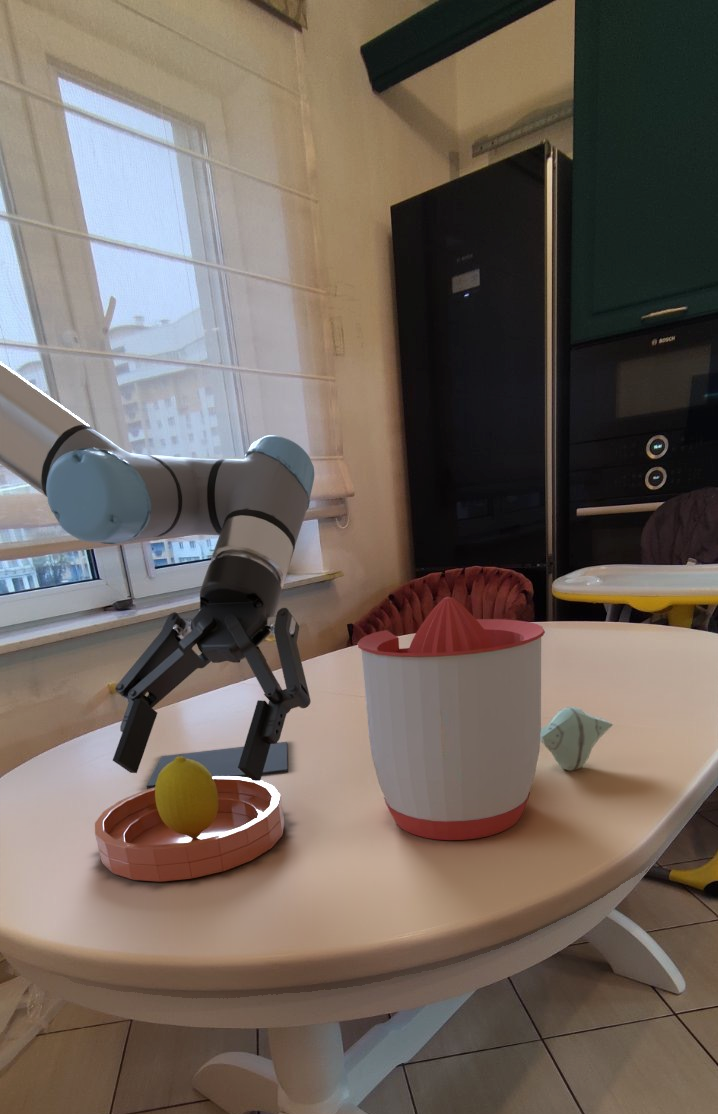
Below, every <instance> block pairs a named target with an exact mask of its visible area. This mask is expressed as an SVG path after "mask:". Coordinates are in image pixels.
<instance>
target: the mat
mask: <svg viewBox="0 0 718 1114" xmlns="http://www.w3.org/2000/svg"><path fill="white" fill-rule="evenodd" d="M243 749H244V746H238V747H231V748H229V747H228V748H221V749H213V750H212V749H211V750H203V751H196V752H195V751H194V752H187V753H180V754H177V753H176V754H170V755H161V757H160V759H159V761H158V763H157V765H156V766H155V769H154V771H153V773H152V775H151V777H150V778H149V781H148V783H147V784H146V790H147V789H150V788H154V787H155V786H156V780H157V778H158V775H159V773H160V772H161V770H162V769H163V768H164V767H165V766H166V765H167V764H169V763H170V762H172V761H174V759H175V758H176V757H178V756H183V757H184V758H185V759H190V760H194V761H196V762H198V763H200V764H202V765H203V766H204V767H205V768H206V769H207V770H208V771H209V772H210V774H211V776H212V777H215V776H225V777H244V778H249V777H248V776H247V775H246V774H245V773H243V772H242V771H241V770H240V769H239V768H238V766H239V762H240V759H241V756H242V752H243ZM288 759H289V758H288V741H282V742H277V743H276V744H271V745H270V748H269V752H268V755H267V759H266V762H265V766H264V770H263V773H262V776H264V775H265V776H266V775H267V776H268V775H274V774H281V773H282V774H283V773H288V772H289V769H288V768H289V767H288V765H289V764H288V763H289V762H288V761H289V760H288Z"/></svg>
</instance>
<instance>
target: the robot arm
mask: <svg viewBox="0 0 718 1114" xmlns="http://www.w3.org/2000/svg"><path fill="white" fill-rule="evenodd" d="M0 465H1V466H2V467H4V468H5V469H7V470H8V471H10V472H11V473H12V474H14V475H15V476H17V477H18V478H19V479H21V480H22V481H24V482H25V483H26V484H28V485H29V486H31V488H34V489H35V490H36V491H38V492H39V493H41V494H42V495H43V496H44V497H46V498H47V505H48V506H49V509H50V512H51V513H52V514H53V515H54V517H55V519H56V521H57V523H58V524H59V526H60V527H61V528H62V529H63V530H64V531H65V532H66V533H67V534H69V535H71V536H72V537H73V538H76V539H78V540H80V541H81V542H87V543H100V544H105V545H116V544H125V543H127V542H131V541H138V540H139V541H140V540H145V539H151V538H162V537H170V536H171V537H172V536H180V535H201V536H202V535H204V536H218V538H217V541H216V544H215V546H214V549H213V551H212V555H211V557H210V563H209V564H208V567H207V570H206V572H205V576H204V579H203V581H202V584H201V586H200V590H199V610H198V611H197V613H196V614H195V616H193V617H192V618H183V617H181V615H179V613H177V612H176V611H175V612H171V613H170V614H168V616H167V618H166V620H165V622H164V625H163V627H162V628H161V631H160V632H159V633H158V634H157V636H156V637H154V639H153V640H152V642H151V643H150V644H149V646H148V647H147V648H146V649H145V650H144V651H143V653H142V654H141V655H140V656H139V658H137V660H136V661H135V662H134V664H133V665H132V666H131V667H130V668H129V670H127V672H126V673H125V674H124V676H123V677H122V678H121V680H119V682H118V683H117V684H116V686H115V688H114V689H115V692H116V693H117V694H118V695H119V696H121V697H122V698H123V699H124V700H126V701H127V703H128V704H127V707H126V709H125V712H124V715H123V718H122V721H121V724H120V726H119V727H120V729H119V730H120V733H121V735H120V739H119V742H118V743H117V747H116V749H115V752H114V755H113V758H112V761H113V763H115V764H117V765H118V766H120V767H121V768H123V769H124V770H125V771H127V772H129V774H137V773H138V771H139V768H140V765H141V762H142V759H143V756H144V753H145V751H146V748H147V745H148V742H149V739H150V736H151V733H152V731H153V727H154V724H155V721H156V719H157V716H158V712H157V711H156V709H153V708H154V707H156V705H158V704H159V703H160V702H161V701H162V700H163V699H164V698H165V697H166V696H168V695H169V694H170V693H171V692H172V691H174V690H175V689H176V688H177V687H178V686H179V685H180V684H181V683H182V682H183V681H184V680H186V679H187V678H189V676H191V675H192V674H193V673H194V672H195V671H196V670H198V669H204V668H206V667H207V666H208V665H209V664H210V663H212V664H220V663H224V662H230V663H237V664H238V663H239V664H240V663H241V660H244V659H245V660H246V662H247V664H248V666H249V667H250V669H251V671H252V672H253V675H254V677H255V678H256V680H257V682H258V684H259V686H260V688H261V690H262V692H263V695H264V697H266V699H267V700H268V702H267V701H266V700H257V702H256V704H255V708H254V712H253V716H252V719H251V722H250V726H249V729H248V732H247V736H246V739H245V742H244V746H243V747H244V749H243V752H242V756H241V759H240V762H239V766H238V768H239V769H240V770H241V771H242V772H243V773H245V774H246V775H247V776H248V777H247V778H250V779H251V780H253V781H260V780H261V781H262V777H263V775H262V773H263V770H264V766H265V762H266V759H267V755H268V752H269V748H270V745H271V744H276V743H279V741H280V739H281V735H282V732H283V728H284V724H285V721H286V717H287V715H288V713H290V711H291V710H293V709H295V708H298V707H299V708H300V709H306V708H308V707H309V706H311V701H312V700H311V696H310V692H309V688H308V683H307V680H306V675H305V671H304V667H303V663H302V659H301V654H300V650H299V646H298V638H299V632H300V625H299V624H298V621H297V620H296V619H295V617H294V616H293V615H292V614H291V611H289V609H288V608H287V607H281V608H280V609H278V607H279V603H280V600H281V596H282V592H283V591H282V590H283V587H284V586H285V584H286V583H285V582H286V579H287V576H288V574H289V573H288V572H289V569H290V566H291V562H292V559H293V555H294V553H295V549H296V544H297V542H298V538H299V535H300V532H301V529H302V526H303V522H304V520H305V517H306V513H307V511H308V510H309V508H310V503H311V496H312V490H313V486H314V481H315V466H314V464H313V462H312V460H311V458H310V456H309V454H308V453H307V451H305V450H304V448H303V447H301V446H300V445H299V444H297V443H296V442H295V441H293V440H291V439H289V438H288V437H287V438H286V437H284V436H280V435H265V436H263V437H261V438H259V439H257V440H255V441H253V442H252V444H250V446H249V449H248V450H247V451H246V452H245V454H244V458H243V459H240V458H239V459H237V458H226V459H225V458H224V459H223V458H222V459H214V458H199V457H182V456H168V455H163V454H162V455H158V454H144V453H131V452H128V451H127V450H125V449H123V448H121V447H120V446H119V445H117V444H115V443H114V442H113V441H111V440H110V439H108V438H107V437H106V436H104V435H102V433H100V432H98V431H97V430H95V429H94V428H93V427H91V425H89V424H88V423H86V422H85V421H84V420H83V419H81V418H80V417H79V416H77V415H75V414H74V413H72V411H70V410H69V409H67V408H65V406H63V405H62V404H60V403H59V402H57V401H56V400H54V399H53V398H52V397H51V396H49V395H47V394H46V393H44V392H43V391H42V390H40V389H39V388H38V387H36V386H35V385H34V384H32V383H31V382H29V381H28V380H26V379H25V378H24V377H22V376H21V375H20V374H18V373H17V372H16V371H14V370H12V369H11V368H10V367H8V366H7V365H5V363H2V361H0ZM277 610H278V611H277ZM271 633H272V635H273V636H274V639H275V643H276V648H277V652H278V656H279V661H280V667H281V670H282V674H283V675H282V676H283V680H284V684H285V689H283V688H282V687H281V685H280V683H279V681H278V680H277V678H276V676H275V675H274V672H273V671H272V669H271V668H270V666H269V664H268V662H267V659H266V657H265V655H264V654H263V651H262V650H261V648H260V646H259V645H260V644H262V643H263V642H264V641H265V640H266V639H267V638H268V636H269V635H270V634H271ZM194 646H197V648H198V650H199V652H200V653H199V654H198V653H197V652H196V651H195V650H194V649H193V647H194ZM146 694H148V695H146Z"/></svg>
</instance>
